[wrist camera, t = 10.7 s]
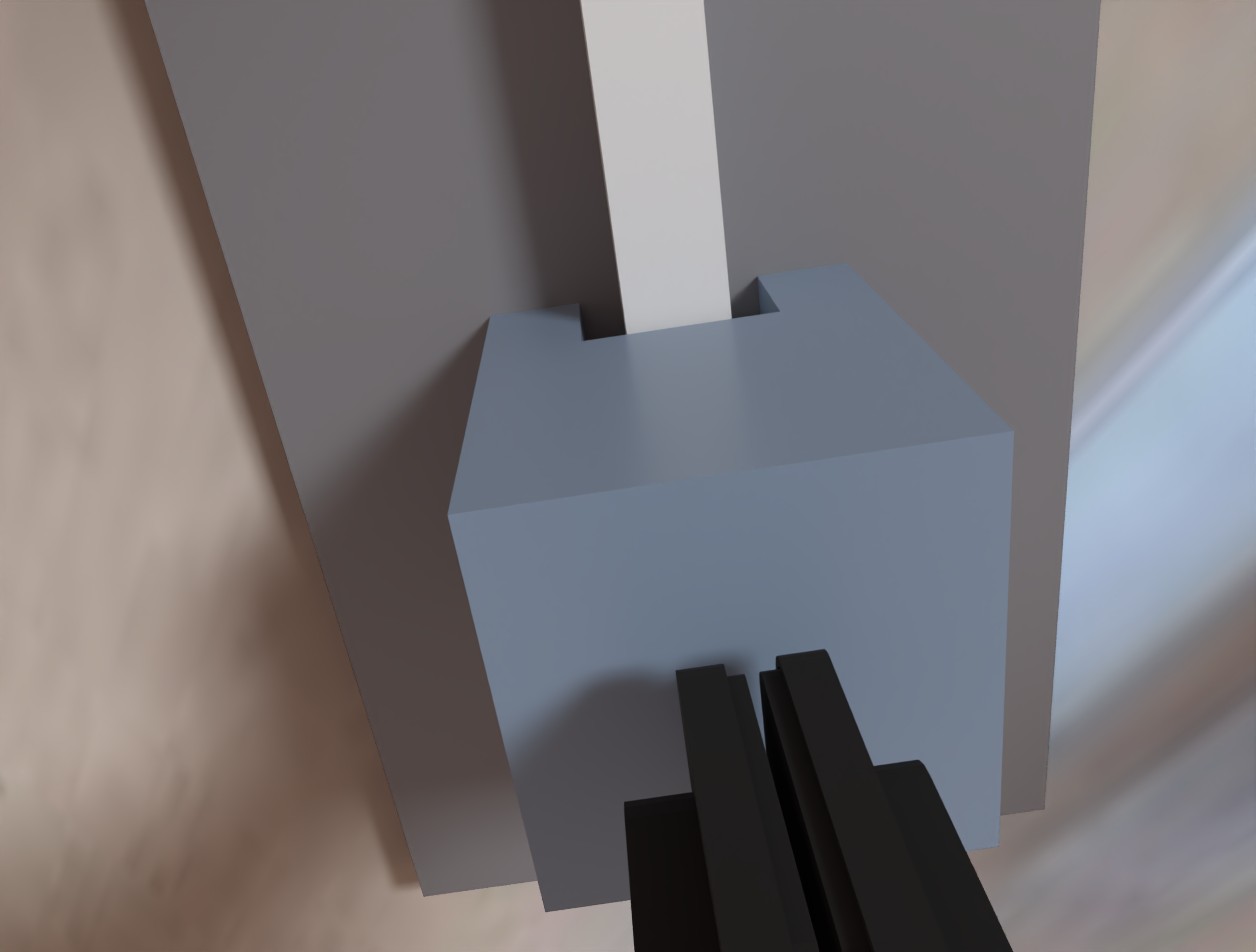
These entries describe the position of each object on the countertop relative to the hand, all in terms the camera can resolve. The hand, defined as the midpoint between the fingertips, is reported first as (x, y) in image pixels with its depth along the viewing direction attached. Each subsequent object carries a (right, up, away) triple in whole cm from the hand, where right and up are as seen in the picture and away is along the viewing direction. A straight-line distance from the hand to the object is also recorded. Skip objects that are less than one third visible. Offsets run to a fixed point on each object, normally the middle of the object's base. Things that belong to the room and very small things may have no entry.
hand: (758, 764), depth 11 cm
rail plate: (0, +4, +8) cm, 9 cm away
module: (0, +4, +7) cm, 8 cm away
